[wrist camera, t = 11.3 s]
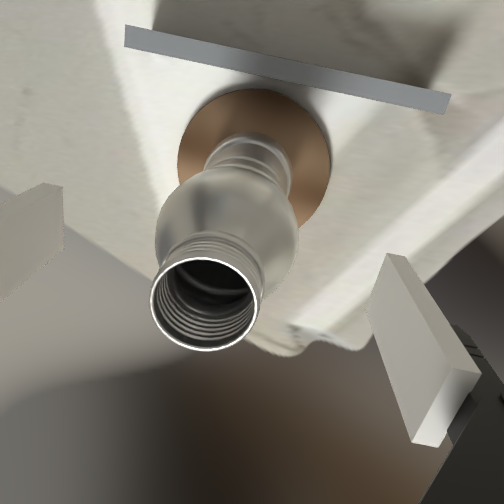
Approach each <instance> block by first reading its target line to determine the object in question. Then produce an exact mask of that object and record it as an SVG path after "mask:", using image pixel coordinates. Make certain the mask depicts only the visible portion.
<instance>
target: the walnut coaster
mask: <svg viewBox="0 0 504 504" xmlns="http://www.w3.org/2000/svg"><path fill="white" fill-rule="evenodd" d="M242 132H255V133H260V134H263V135H266V136H268V137H270V138H272V139H273V140H275V141H276V142H277V143H279V145H280V146H281V147H282V148H283V149H284V150H285V152H286V154H287V155H288V157H289V159H290V162H291V165H292V172H293V180H292V186H291V190H290V193H289V196H288V200H289V202H290V203H291V205H292V208H293V211H294V214H295V217H296V220H297V223H298V228H299V227H300V226H302V225H303V224H304V223H305V222H306V221H307V220H308V219H309V218H310V217H311V216H312V215H313V214H314V212H315V211H316V209H317V208H318V206H319V205H320V203H321V201H322V199H323V197H324V194H325V191H326V189H327V185H328V180H329V172H330V162H329V153H328V148H327V145H326V142H325V139H324V136H323V134H322V132H321V130H320V128H319V127H318V125H317V124H316V122H315V121H314V119H313V118H312V117H311V116H310V115H309V113H308V112H307V111H306V110H305V109H304V108H302V107H301V106H300V105H299V104H298V103H296V102H294V101H293V100H291V99H290V98H288V97H286V96H283V95H281V94H279V93H276V92H272V91H269V90H261V89H244V90H238V91H234V92H231V93H227V94H225V95H222V96H220V97H218V98H216V99H214V100H213V101H211V102H210V103H208V104H207V105H206V106H205V107H203V108H202V109H201V110H200V111H199V112H198V113H197V114H196V115H195V117H194V118H193V119H192V120H191V122H190V123H189V125H188V126H187V128H186V130H185V132H184V135H183V137H182V140H181V143H180V146H179V152H178V161H177V169H178V178H179V182H180V185H181V184H182V183H184V182H185V181H187V180H188V179H190V178H191V177H192V176H194V175H196V174H198V173H200V172H203V169H204V165H205V163H206V160H207V158H208V156H209V154H210V153H211V151H212V150H213V149H214V148H215V146H216V145H217V144H218V143H220V142H221V141H222V140H224V139H225V138H227V137H229V136H231V135H234V134H237V133H242Z"/></svg>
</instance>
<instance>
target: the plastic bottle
mask: <svg viewBox="0 0 504 504" xmlns="http://www.w3.org/2000/svg"><path fill="white" fill-rule="evenodd" d="M292 180H293V172H292V165H291V162H290V159H289V157H288V155H287V154H286V152H285V150H284V149H283V148H282V147H281V146H280V145H279V143H277V142H276V141H275V140H273V139H272V138H270V137H268V136H266V135H263V134H260V133H255V132H242V133H237V134H234V135H231V136H229V137H227V138H225V139H224V140H222V141H221V142H220V143H218V144H217V145H216V146H215V148H214V149H213V150H212V151H211V153H210V154H209V156H208V158H207V160H206V163H205V165H204V169H203V172H200V173H198V174H196V175H194V176H192V177H191V178H190V179H188V180H187V181H185V182H184V183H182V184H181V185H179V186H178V187H177V188H176V189H175V190H174V191H173V192H172V194H171V195H170V196H169V197H168V198H167V200H166V202H165V203H164V205H163V207H162V208H161V211H160V214H159V217H158V219H157V225H156V232H155V250H156V257H157V260H158V264H159V267H160V268H159V272H158V273H157V275H156V277H155V278H154V281H153V283H152V286H151V290H150V295H149V308H150V312H151V315H152V318H153V320H154V322H155V324H156V325H157V327H158V328H159V329H160V330H161V332H162V333H163V334H164V335H165V336H167V337H168V338H169V339H170V340H171V341H173V342H175V343H176V344H178V345H180V346H183V347H185V348H188V349H192V350H197V351H216V350H221V349H225V348H228V347H230V346H232V345H234V344H236V343H238V342H239V341H240V340H242V339H243V338H244V337H245V336H246V335H247V334H248V333H249V332H250V331H251V329H252V327H253V325H254V324H255V322H256V319H257V317H258V313H259V310H260V303H261V301H262V300H263V299H265V298H266V297H268V296H269V295H270V294H271V293H273V292H274V291H275V290H276V289H277V288H278V286H279V285H280V284H281V283H282V282H283V281H284V279H285V278H286V276H287V275H288V273H289V271H290V269H291V268H292V266H293V264H294V262H295V258H296V255H297V252H298V245H299V230H298V223H297V220H296V217H295V214H294V211H293V208H292V205H291V203H290V202H289V200H288V196H289V193H290V190H291V186H292Z"/></svg>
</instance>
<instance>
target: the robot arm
mask: <svg viewBox="0 0 504 504" xmlns="http://www.w3.org/2000/svg"><path fill="white" fill-rule="evenodd" d="M63 249H64V221H63V187H62V186H57V185H52V184H47V183H42V184H40V185H38V186H36V187H34V188H32V189H30V190H28V191H26V192H24V193H21V194H19V195H17V196H15V197H13V198H11V199H9V200H7V201H5V202H3V203H1V204H0V302H1V301H2V300H4V299H5V298H6V297H7V296H8V295H9V294H11V293H12V292H13V291H14V290H15V289H17V288H18V287H19V286H20V285H21V284H22V283H24V282H25V281H26V280H27V279H29V278H30V277H31V276H32V275H33V274H34V273H35V272H37V271H38V270H39V269H40V268H42V267H43V266H44V265H45V264H46V263H48V262H49V261H50V260H51V259H52V258H53V257H55V256H56V255H57V254H58V253H60V252H61V251H62V250H63ZM365 310H366V313H367V316H368V318H369V321H370V324H371V327H372V330H373V333H374V336H375V339H376V341H377V344H378V347H379V350H380V353H381V356H382V359H383V361H384V364H385V367H386V370H387V373H388V376H389V379H390V382H391V385H392V387H393V390H394V393H395V396H396V399H397V402H398V405H399V407H400V411H401V413H402V416H403V419H404V422H405V425H406V428H407V431H408V434H409V436H410V439H411V442H412V443H417V444H423V445H428V446H433V447H439V445H440V444H441V442H442V440H443V439H444V437H445V435H446V433H447V432H448V435H449V437H450V439H451V441H452V443H453V447H452V448H451V450H450V451H449V453H448V455H447V456H446V458H445V460H444V461H443V463H442V465H441V466H440V468H439V469H438V471H437V473H436V475H435V477H434V478H433V480H432V482H431V483H430V485H429V487H428V488H427V490H426V492H425V493H424V495H423V497H422V499H421V500H420V502H419V503H418V504H504V384H503V383H502V381H501V380H500V379H499V377H498V376H497V374H496V373H495V371H494V370H493V369H492V367H491V366H490V364H489V363H488V361H487V360H486V359H484V356H483V354H482V353H481V351H480V350H479V349H477V348H478V347H477V346H476V344H475V343H474V341H473V340H472V339H471V337H470V336H469V335H468V334H467V333H465V332H464V331H463V330H462V329H461V328H460V327H458V326H457V325H452V324H449V323H448V321H447V320H446V318H445V317H444V315H443V313H442V312H441V310H440V309H439V307H438V306H437V304H436V303H435V301H434V300H433V298H432V297H431V295H430V294H429V292H428V291H427V289H426V288H425V286H424V284H423V283H422V281H421V280H420V278H419V277H418V275H417V274H416V272H415V271H414V269H413V268H412V266H411V265H410V263H409V261H408V260H407V258H406V257H404V256H399V255H395V254H390V253H387V254H386V256H385V259H384V262H383V264H382V267H381V269H380V272H379V275H378V277H377V280H376V283H375V285H374V288H373V290H372V293H371V296H370V298H369V301H368V303H367V306H366V309H365Z"/></svg>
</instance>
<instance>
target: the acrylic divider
mask: <svg viewBox="0 0 504 504" xmlns="http://www.w3.org/2000/svg"><path fill="white" fill-rule="evenodd" d="M124 47H128V48H132V49H137V50H142V51H146V52H151V53H156V54H160V55H165V56H170V57H175V58H179V59H184V60H189V61H193V62H198V63H203V64H207V65H212V66H217V67H221V68H226V69H231V70H236V71H240V72H245V73H250V74H254V75H259V76H264V77H268V78H273V79H278V80H282V81H287V82H292V83H297V84H301V85H306V86H311V87H315V88H320V89H325V90H329V91H334V92H339V93H344V94H348V95H353V96H358V97H362V98H367V99H372V100H376V101H381V102H386V103H390V104H395V105H400V106H405V107H409V108H414V109H419V110H423V111H428V112H433V113H437V114H442V115H444V113H445V110H446V108H447V105H448V102H449V100H450V97H451V94H448V93H443V92H439V91H434V90H429V89H425V88H420V87H415V86H411V85H406V84H401V83H397V82H392V81H387V80H383V79H378V78H373V77H369V76H364V75H359V74H355V73H350V72H345V71H340V70H336V69H331V68H326V67H322V66H317V65H312V64H308V63H303V62H298V61H294V60H289V59H284V58H280V57H275V56H270V55H266V54H261V53H256V52H252V51H247V50H242V49H238V48H233V47H228V46H224V45H219V44H214V43H210V42H205V41H200V40H196V39H191V38H186V37H181V36H177V35H172V34H167V33H163V32H158V31H153V30H149V29H144V28H139V27H135V26H130V25H125V42H124Z"/></svg>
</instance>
